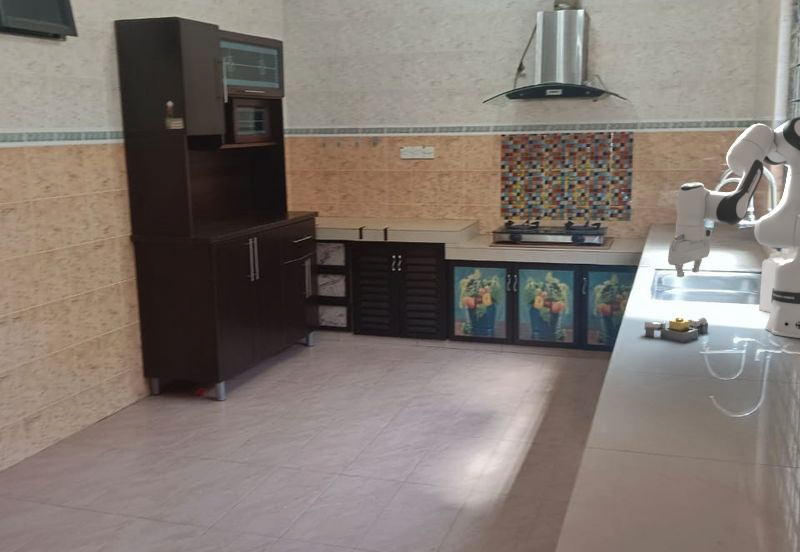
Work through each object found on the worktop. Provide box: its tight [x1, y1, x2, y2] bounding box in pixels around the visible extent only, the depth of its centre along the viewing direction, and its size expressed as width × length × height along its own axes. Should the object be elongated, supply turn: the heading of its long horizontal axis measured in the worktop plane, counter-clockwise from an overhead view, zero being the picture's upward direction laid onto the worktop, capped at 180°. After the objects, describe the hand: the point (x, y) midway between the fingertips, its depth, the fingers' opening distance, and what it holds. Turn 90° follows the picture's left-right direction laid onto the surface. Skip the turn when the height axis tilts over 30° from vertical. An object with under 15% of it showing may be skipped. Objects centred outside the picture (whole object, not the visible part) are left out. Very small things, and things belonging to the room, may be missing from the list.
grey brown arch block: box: [644, 321, 667, 338], centre depth 269 cm, size 6×4×5 cm, turn 74°
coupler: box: [668, 317, 689, 333], centre depth 266 cm, size 4×4×6 cm
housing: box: [659, 326, 699, 344], centre depth 266 cm, size 8×8×3 cm
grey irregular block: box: [688, 317, 709, 334], centre depth 273 cm, size 8×4×5 cm, turn 129°
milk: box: [758, 251, 785, 313], centre depth 301 cm, size 6×6×22 cm
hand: (688, 274), depth 267 cm, fingers open, 8 cm apart
